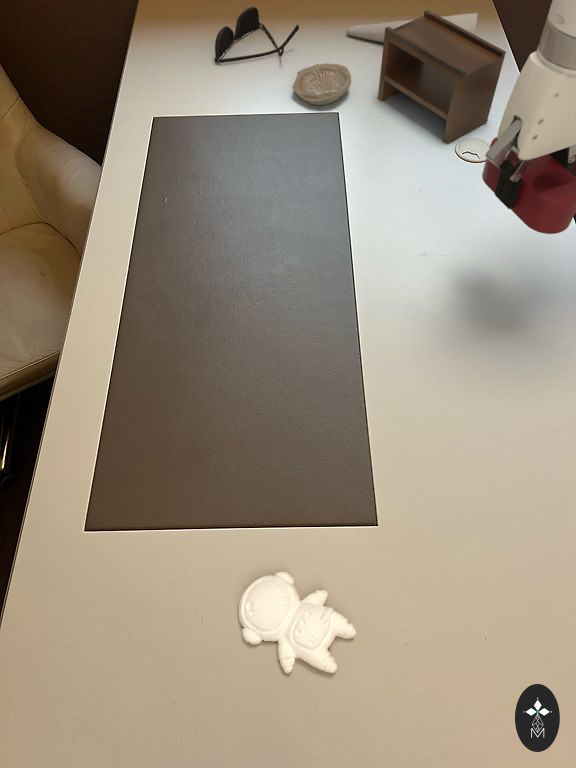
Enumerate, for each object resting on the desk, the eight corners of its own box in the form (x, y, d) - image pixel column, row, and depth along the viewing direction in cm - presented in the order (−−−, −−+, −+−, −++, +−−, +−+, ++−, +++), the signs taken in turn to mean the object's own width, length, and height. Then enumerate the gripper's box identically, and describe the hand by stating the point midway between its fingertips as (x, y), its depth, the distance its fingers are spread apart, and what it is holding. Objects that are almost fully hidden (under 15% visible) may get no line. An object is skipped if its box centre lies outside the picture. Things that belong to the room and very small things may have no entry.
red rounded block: (473, 171, 78) (481, 140, 75) (510, 159, 79) (520, 128, 76) (540, 240, 71) (553, 209, 68) (580, 225, 72) (595, 194, 69)
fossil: (289, 110, 116) (287, 96, 114) (303, 74, 122) (301, 60, 120) (344, 113, 114) (343, 99, 112) (355, 76, 120) (355, 62, 117)
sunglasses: (271, 81, 120) (270, 55, 116) (209, 62, 125) (206, 37, 121) (313, 41, 128) (313, 16, 124) (253, 25, 133) (252, -1, 129)
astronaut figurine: (318, 699, 60) (318, 694, 58) (222, 623, 64) (219, 615, 62) (366, 622, 64) (369, 615, 62) (273, 555, 68) (272, 546, 66)
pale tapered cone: (338, 31, 122) (475, 27, 116) (346, 8, 126) (479, 4, 120) (341, 69, 128) (471, 68, 122) (348, 47, 133) (474, 44, 126)
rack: (416, 79, 120) (427, 9, 109) (486, 123, 112) (506, 51, 101) (377, 98, 117) (385, 27, 106) (447, 144, 108) (462, 72, 98)
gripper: (625, 4, 64) (563, 156, 79) (484, 43, 60) (447, 196, 75) (679, 37, 60) (604, 191, 75) (532, 82, 56) (483, 235, 71)
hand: (526, 192), depth 75 cm, fingers closed on red rounded block, 5 cm apart
